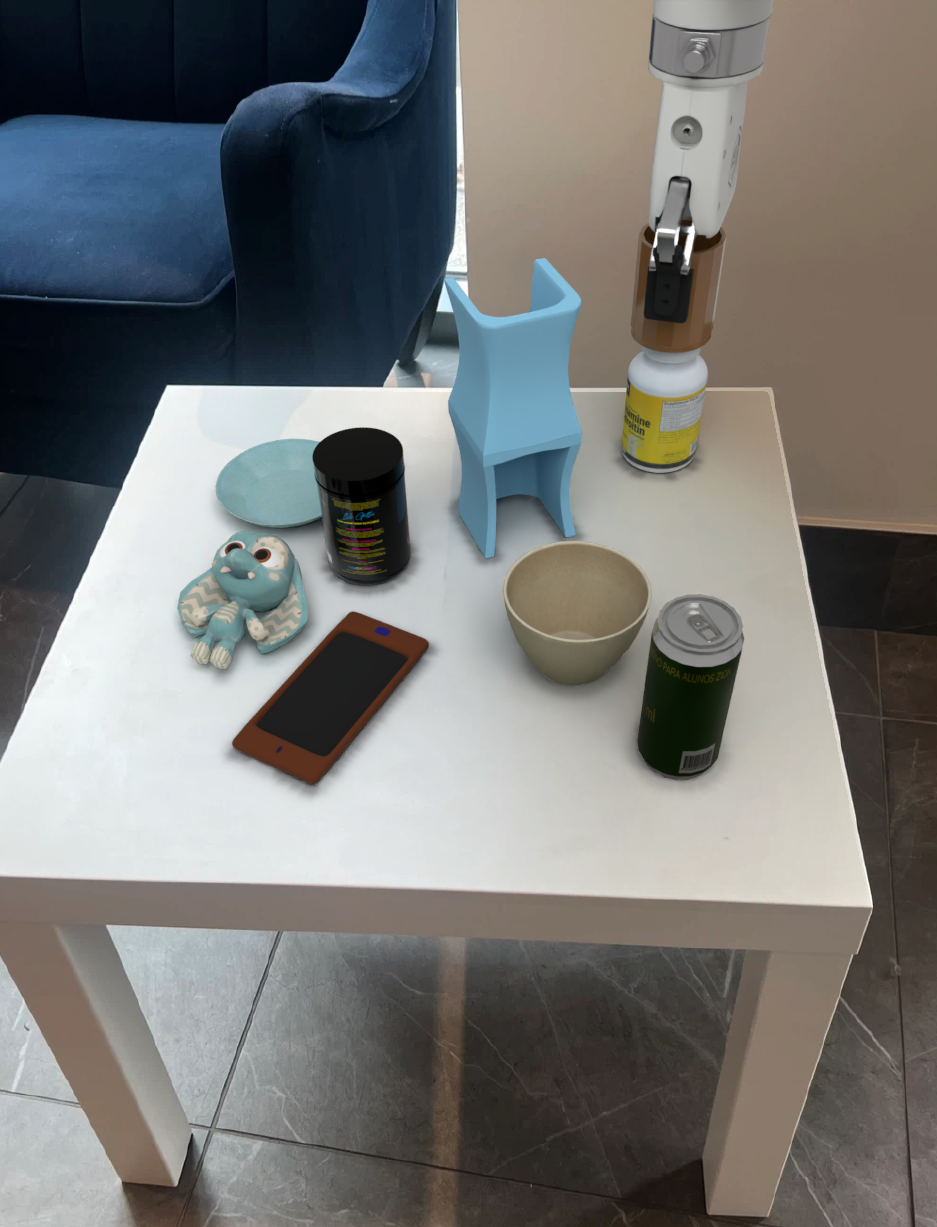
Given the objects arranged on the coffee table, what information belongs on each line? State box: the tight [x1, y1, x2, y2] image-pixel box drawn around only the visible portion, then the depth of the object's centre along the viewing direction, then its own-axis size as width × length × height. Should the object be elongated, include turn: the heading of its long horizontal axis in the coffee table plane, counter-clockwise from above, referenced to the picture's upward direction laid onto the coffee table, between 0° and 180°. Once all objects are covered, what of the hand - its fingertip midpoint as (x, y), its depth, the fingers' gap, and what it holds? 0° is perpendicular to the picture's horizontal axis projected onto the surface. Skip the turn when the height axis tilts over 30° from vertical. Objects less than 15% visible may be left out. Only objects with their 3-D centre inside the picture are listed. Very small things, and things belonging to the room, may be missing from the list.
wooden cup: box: [630, 220, 728, 353], centre depth 85 cm, size 6×6×8 cm
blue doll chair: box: [443, 257, 583, 560], centre depth 84 cm, size 8×8×20 cm
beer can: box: [636, 593, 745, 781], centre depth 69 cm, size 5×5×12 cm
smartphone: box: [231, 610, 430, 785], centre depth 78 cm, size 7×1×15 cm
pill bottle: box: [620, 345, 709, 474], centre depth 92 cm, size 6×6×12 cm
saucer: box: [215, 438, 322, 529], centre depth 94 cm, size 12×12×2 cm
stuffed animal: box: [176, 530, 310, 670], centre depth 82 cm, size 11×7×12 cm
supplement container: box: [312, 426, 412, 586], centre depth 85 cm, size 7×7×10 cm
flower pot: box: [502, 540, 653, 687], centre depth 77 cm, size 10×10×7 cm
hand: (678, 288), depth 85 cm, fingers open, 9 cm apart
